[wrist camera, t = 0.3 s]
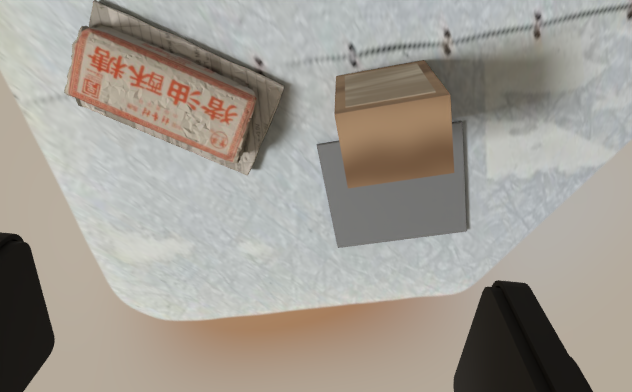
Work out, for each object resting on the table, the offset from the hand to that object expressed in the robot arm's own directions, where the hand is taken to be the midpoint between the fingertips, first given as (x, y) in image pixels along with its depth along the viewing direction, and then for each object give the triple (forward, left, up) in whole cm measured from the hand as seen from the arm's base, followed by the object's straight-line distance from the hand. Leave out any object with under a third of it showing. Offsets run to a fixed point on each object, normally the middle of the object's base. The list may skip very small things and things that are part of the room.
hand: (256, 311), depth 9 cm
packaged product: (+2, -14, -35) cm, 38 cm away
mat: (+16, +5, -34) cm, 38 cm away
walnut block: (+7, +5, -34) cm, 35 cm away
